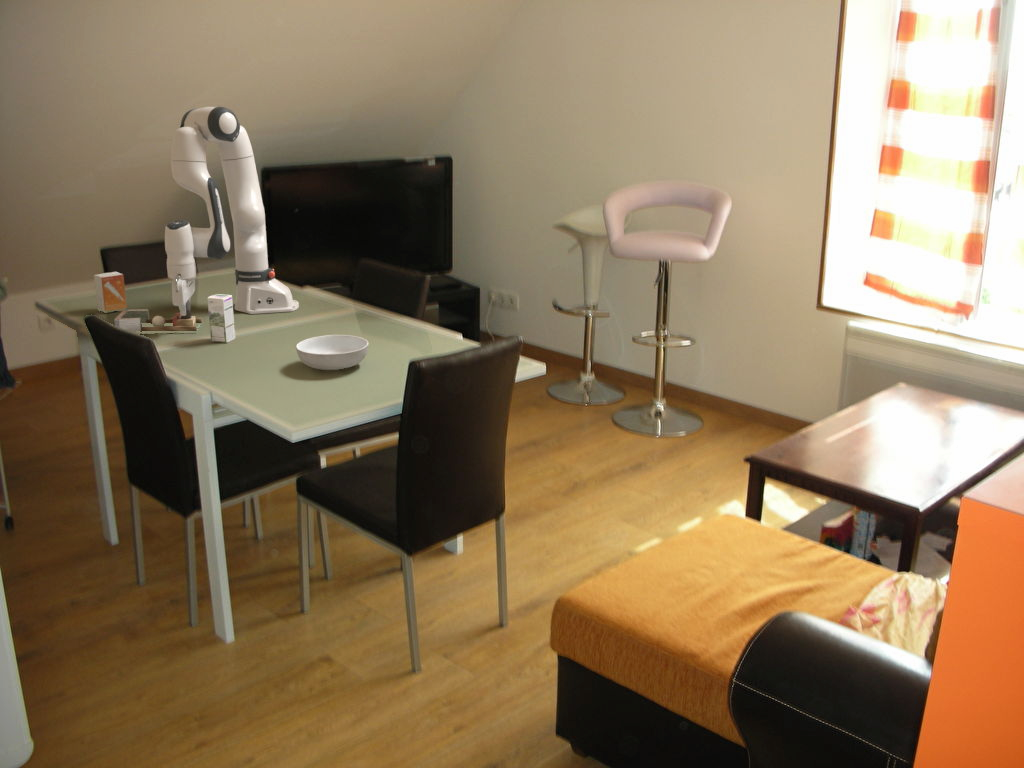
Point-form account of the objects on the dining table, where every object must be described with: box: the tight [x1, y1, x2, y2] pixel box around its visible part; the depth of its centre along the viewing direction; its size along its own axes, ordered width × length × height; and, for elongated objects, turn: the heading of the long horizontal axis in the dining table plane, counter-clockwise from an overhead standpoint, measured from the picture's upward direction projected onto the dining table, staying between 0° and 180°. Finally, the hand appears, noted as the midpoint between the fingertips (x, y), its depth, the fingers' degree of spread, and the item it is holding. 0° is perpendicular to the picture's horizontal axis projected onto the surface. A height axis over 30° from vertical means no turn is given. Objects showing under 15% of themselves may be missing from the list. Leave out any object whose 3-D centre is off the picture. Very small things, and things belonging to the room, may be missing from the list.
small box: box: [93, 271, 128, 311], centre depth 365 cm, size 8×6×13 cm
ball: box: [151, 315, 165, 327], centre depth 344 cm, size 4×4×4 cm
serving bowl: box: [295, 334, 369, 371], centre depth 306 cm, size 21×21×7 cm
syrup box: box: [206, 293, 236, 344], centre depth 330 cm, size 6×6×14 cm
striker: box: [171, 299, 197, 326], centre depth 344 cm, size 6×8×9 cm
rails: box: [142, 317, 203, 332], centre depth 345 cm, size 18×11×2 cm, turn 97°
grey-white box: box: [113, 308, 150, 332], centre depth 343 cm, size 8×13×5 cm, turn 7°
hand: (185, 312), depth 344 cm, fingers open, 5 cm apart
